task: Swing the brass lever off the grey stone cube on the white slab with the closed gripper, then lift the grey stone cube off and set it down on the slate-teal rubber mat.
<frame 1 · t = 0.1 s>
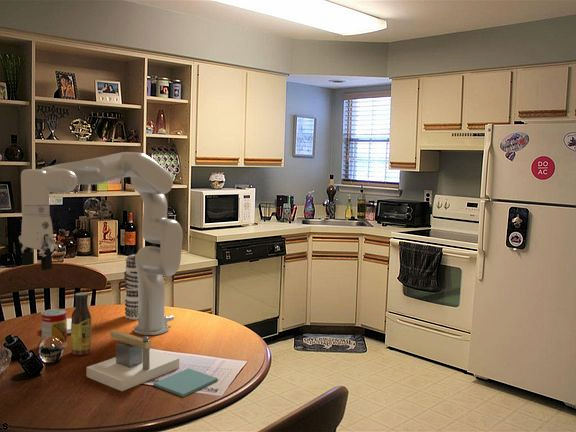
hand: (37, 267, 170), 31 cm above the table, tool pointing down, fingers open, 9 cm apart
grey stone cube: (129, 362, 171), point 3 cm above the table, touching white slab
sauce bottle: (81, 353, 186), on the table
lever: (130, 337, 169), point 11 cm above the table, hinge at 0.0°
mat: (186, 383, 164), on the table
decorative candle: (136, 316, 227), on the table
plastic lid: (63, 331, 208), on the table
canned food: (54, 346, 191), on the table
white slab: (134, 372, 171), on the table
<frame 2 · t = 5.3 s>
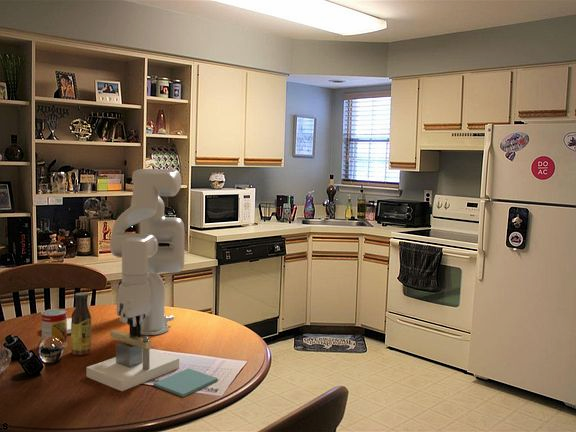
hand: (135, 337, 172), 10 cm above the table, tool pointing down, fingers closed
lever: (130, 337, 169), point 11 cm above the table, hinge at 0.0°, touching gripper
everything else where it was.
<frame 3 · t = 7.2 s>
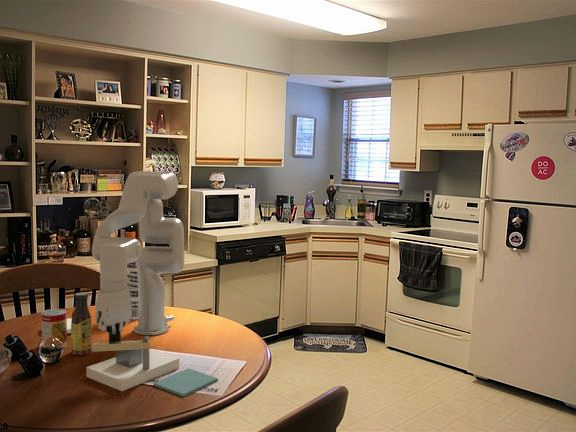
hand: (114, 345, 166), 10 cm above the table, tool pointing down, fingers closed
lever: (121, 343, 164), point 11 cm above the table, hinge at 48.3°, touching gripper
everything else where it was.
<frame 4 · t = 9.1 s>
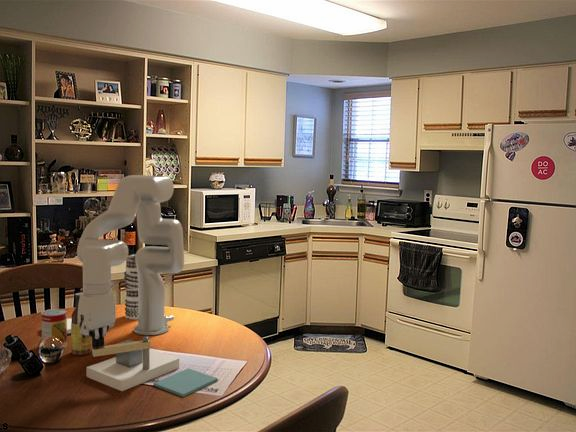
hand: (98, 350, 162), 10 cm above the table, tool pointing down, fingers closed
lever: (121, 345, 162), point 11 cm above the table, hinge at 64.2°, touching gripper
everything else where it was.
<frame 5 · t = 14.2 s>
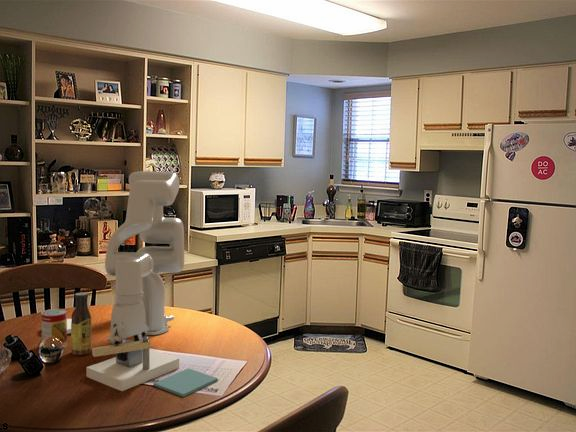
hand: (129, 356, 170), 5 cm above the table, tool pointing down, fingers closed on grey stone cube, 5 cm apart
grey stone cube: (129, 362, 171), point 3 cm above the table, touching gripper, white slab
lever: (121, 346, 162), point 11 cm above the table, hinge at 64.7°
everything else where it was.
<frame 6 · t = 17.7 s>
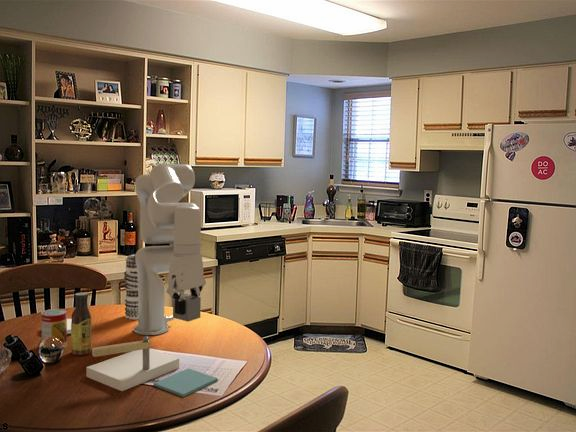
hand: (186, 311, 162), 22 cm above the table, tool pointing down, fingers closed on grey stone cube, 5 cm apart
grey stone cube: (186, 317, 162), point 20 cm above the table, touching gripper
everything else where it was.
when the fingers open (4 cm above the table, at t = 21.1 s): grey stone cube drops 2 cm, resting on mat.
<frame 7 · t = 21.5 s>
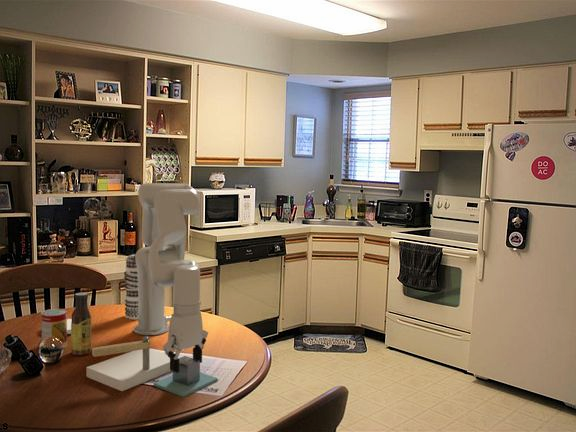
hand: (186, 366, 164), 5 cm above the table, tool pointing down, fingers open, 8 cm apart
grey stone cube: (186, 380, 164), point 1 cm above the table, touching mat
everything else where it was.
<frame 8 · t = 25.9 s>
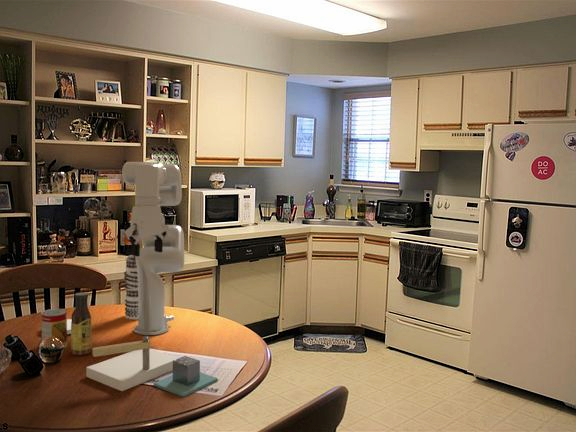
hand: (147, 253, 184), 33 cm above the table, tool pointing down, fingers open, 9 cm apart
at the end: lever at +65° (first picture: +0°); grey stone cube inside the target area on the mat (0.1 cm from its centre), point 0.8 cm above the mat's base; grey stone cube tilted 0° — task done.
